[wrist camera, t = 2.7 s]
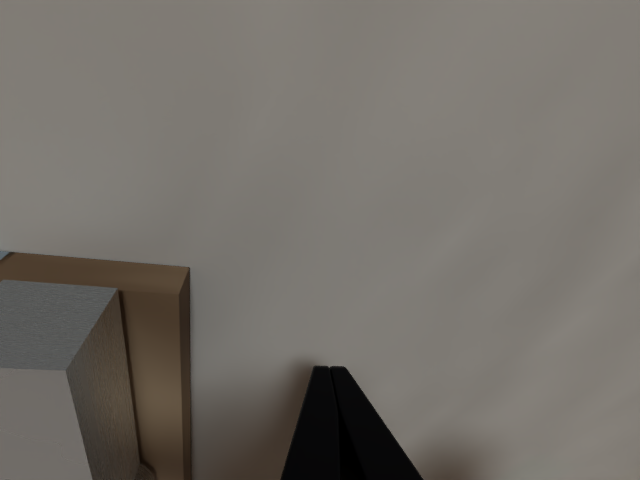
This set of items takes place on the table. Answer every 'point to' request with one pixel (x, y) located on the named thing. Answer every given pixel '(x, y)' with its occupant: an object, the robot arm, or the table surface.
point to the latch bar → (65, 385)
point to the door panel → (138, 345)
